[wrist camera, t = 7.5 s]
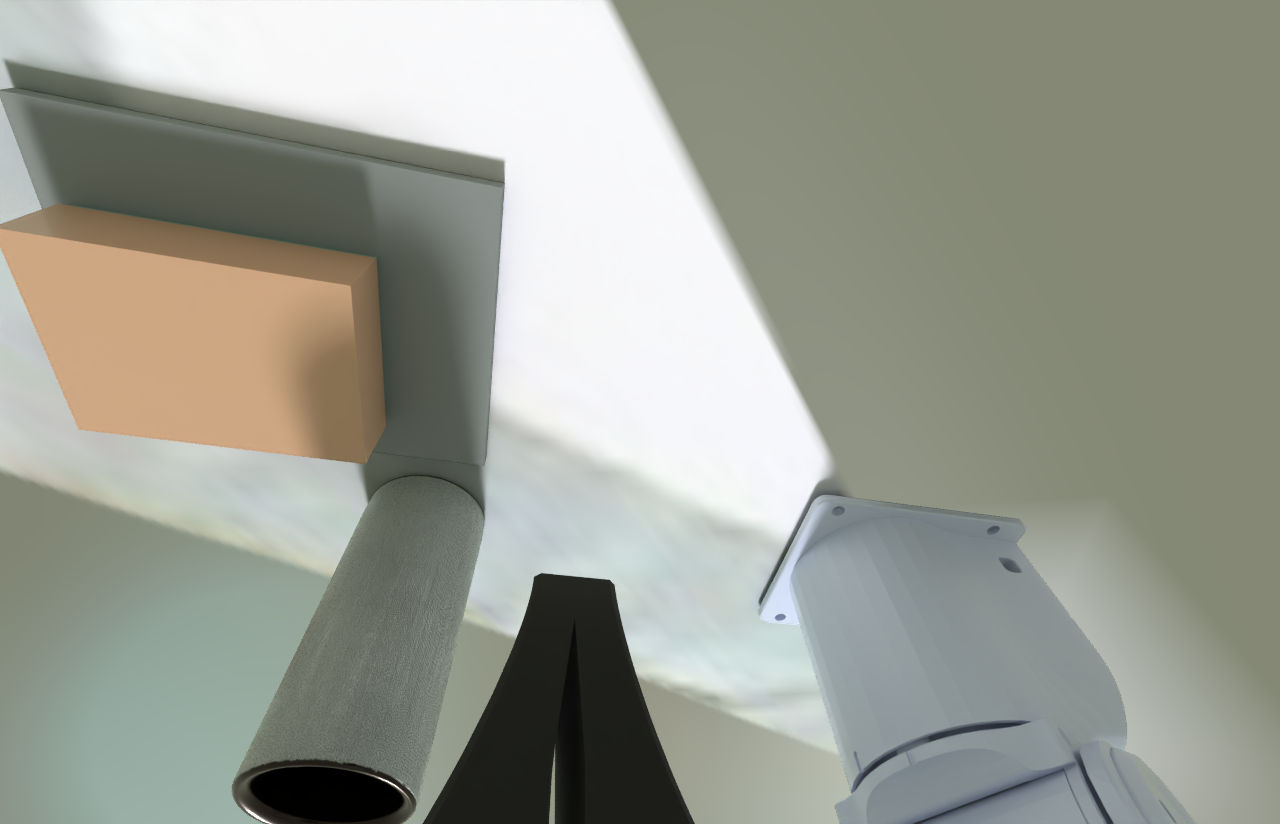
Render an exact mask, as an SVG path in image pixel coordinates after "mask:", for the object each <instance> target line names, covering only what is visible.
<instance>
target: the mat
mask: <svg viewBox="0 0 1280 824" xmlns="http://www.w3.org/2000/svg"><path fill="white" fill-rule="evenodd" d="M0 98H1V101H2V104H3V106H4V109H5V112H6V114H7V117H8V120H9V122H10V125H11V128H12V130H13V133H14V136H15V138H16V141H17V144H18V146H19V149H20V152H21V154H22V157H23V160H24V162H25V165H26V168H27V170H28V173H29V176H30V178H31V181H32V184H33V186H34V189H35V192H36V194H37V197H38V200H39V202H40V205H41V208H42V209H45V208H47V207H50V206H53V205H56V204H64V205H70V206H71V205H76V206H82V207H88V208H93V209H99V210H105V211H111V212H117V213H123V214H128V215H134V216H140V217H146V218H152V219H158V220H164V221H169V222H175V223H181V224H187V225H193V226H199V227H204V228H210V229H216V230H222V231H228V232H234V233H239V234H245V235H251V236H257V237H263V238H269V239H275V240H280V241H286V242H292V243H298V244H304V245H310V246H315V247H321V248H327V249H333V250H339V251H345V252H351V253H356V254H362V255H368V256H374V257H377V272H378V290H379V307H380V325H381V342H382V360H383V377H384V395H385V413H386V427H385V429H384V431H383V433H382V435H381V437H380V439H379V440H378V442H377V444H376V446H375V448H374V450H373V452H377V453H385V454H393V455H401V456H409V457H417V458H425V459H433V460H442V461H450V462H458V463H466V464H474V465H482V466H484V464H485V460H486V454H487V439H488V424H489V409H490V394H491V379H492V364H493V349H494V334H495V319H496V304H497V289H498V274H499V259H500V244H501V229H502V214H503V199H504V184H505V183H501V182H496V181H491V180H485V179H480V178H475V177H470V176H465V175H460V174H455V173H450V172H444V171H439V170H434V169H429V168H424V167H419V166H414V165H409V164H403V163H398V162H393V161H388V160H383V159H378V158H373V157H368V156H362V155H357V154H352V153H347V152H342V151H337V150H332V149H327V148H321V147H316V146H311V145H306V144H301V143H296V142H291V141H286V140H280V139H275V138H270V137H265V136H260V135H255V134H250V133H245V132H239V131H234V130H229V129H224V128H219V127H214V126H209V125H204V124H198V123H193V122H188V121H183V120H178V119H173V118H168V117H163V116H157V115H152V114H147V113H142V112H137V111H132V110H127V109H122V108H116V107H111V106H106V105H101V104H96V103H91V102H86V101H81V100H75V99H70V98H65V97H60V96H55V95H50V94H45V93H40V92H34V91H29V90H24V89H19V88H9V89H2V90H0Z"/></svg>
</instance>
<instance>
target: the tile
mask: <svg viewBox="0 0 1280 824" xmlns="http://www.w3.org/2000/svg"><path fill="white" fill-rule="evenodd" d="M0 248H1V250H2V252H3V255H4V257H5V259H6V262H7V264H8V266H9V269H10V271H11V273H12V275H13V278H14V280H15V282H16V285H17V287H18V289H19V292H20V294H21V296H22V299H23V301H24V303H25V306H26V308H27V310H28V313H29V315H30V317H31V320H32V322H33V324H34V327H35V329H36V331H37V333H38V336H39V338H40V340H41V343H42V345H43V347H44V350H45V352H46V354H47V357H48V359H49V361H50V364H51V366H52V368H53V371H54V373H55V375H56V378H57V380H58V382H59V385H60V387H61V389H62V391H63V394H64V396H65V398H66V401H67V403H68V405H69V408H70V410H71V412H72V415H73V417H74V419H75V422H76V424H77V426H78V429H79V430H88V431H96V432H104V433H113V434H121V435H129V436H137V437H146V438H154V439H162V440H171V441H179V442H187V443H195V444H204V445H212V446H220V447H229V448H237V449H245V450H253V451H262V452H270V453H278V454H287V455H295V456H303V457H311V458H320V459H328V460H336V461H345V462H353V463H361V464H366V463H367V461H368V459H369V457H370V455H371V454H372V452H373V450H374V448H375V446H376V444H377V442H378V440H379V439H380V437H381V435H382V433H383V431H384V429H385V427H386V413H385V395H384V377H383V360H382V342H381V325H380V307H379V290H378V272H377V257H374V256H368V255H362V254H356V253H351V252H345V251H339V250H333V249H327V248H321V247H315V246H310V245H304V244H298V243H292V242H286V241H280V240H275V239H269V238H263V237H257V236H251V235H245V234H239V233H234V232H228V231H222V230H216V229H210V228H204V227H199V226H193V225H187V224H181V223H175V222H169V221H164V220H158V219H152V218H146V217H140V216H134V215H128V214H123V213H117V212H111V211H105V210H99V209H93V208H88V207H82V206H76V205H71V206H70V205H64V204H56V205H53V206H50V207H47V208H45V209H42V210H39V211H36V212H33V213H31V214H28V215H25V216H22V217H19V218H17V219H14V220H11V221H8V222H6V223H3V224H0Z"/></svg>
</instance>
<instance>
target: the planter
mask: <svg viewBox="0 0 1280 824" xmlns="http://www.w3.org/2000/svg"><path fill="white" fill-rule="evenodd" d="M483 529H484V517H483V513H482V510H481V508H480V506H479V505H478V503H477V502H476V501H475V500H474V498H473V497H472V496H471V495H469V494H468V493H467V492H466V491H464V490H463V489H462V488H460V487H458V486H456V485H454V484H452V483H450V482H447V481H445V480H442V479H438V478H433V477H427V476H409V477H403V478H399V479H395V480H393V481H390V482H388V483H386V484H385V485H383V486H382V487H380V488H379V489H378V490H377V491H376V492H375V494H374V495H373V497H372V498H371V500H370V502H369V503H368V505H367V507H366V509H365V511H364V513H363V515H362V517H361V519H360V521H359V523H358V525H357V527H356V529H355V531H354V533H353V536H352V538H351V540H350V542H349V544H348V546H347V548H346V550H345V552H344V554H343V556H342V558H341V560H340V562H339V564H338V566H337V568H336V571H335V573H334V575H333V577H332V579H331V581H330V583H329V585H328V587H327V589H326V591H325V593H324V595H323V597H322V599H321V601H320V604H319V606H318V608H317V610H316V612H315V614H314V616H313V618H312V620H311V622H310V624H309V626H308V628H307V630H306V632H305V634H304V636H303V639H302V641H301V643H300V645H299V647H298V649H297V651H296V653H295V655H294V657H293V659H292V661H291V663H290V665H289V667H288V669H287V671H286V673H285V676H284V678H283V680H282V682H281V684H280V686H279V688H278V690H277V692H276V694H275V696H274V698H273V700H272V702H271V704H270V706H269V709H268V710H267V713H266V715H265V717H264V719H263V721H262V723H261V725H260V727H259V729H258V731H257V733H256V735H255V737H254V739H253V742H252V743H251V746H250V748H249V750H248V752H247V754H246V756H245V758H244V760H243V762H242V764H241V766H240V768H239V770H238V772H237V775H236V777H235V779H234V781H233V784H232V795H233V798H234V800H235V802H236V804H237V805H238V806H239V807H240V808H241V809H242V810H243V811H244V812H245V813H246V814H248V815H249V816H251V817H253V818H254V819H256V820H258V821H260V822H262V823H265V824H403V823H404V822H406V821H407V820H408V819H409V818H410V817H411V816H412V815H413V814H414V812H415V811H416V808H417V805H418V802H419V797H420V794H421V789H422V786H423V781H424V777H425V773H426V768H427V765H428V761H429V757H430V752H431V748H432V744H433V740H434V736H435V732H436V727H437V723H438V719H439V715H440V711H441V707H442V702H443V698H444V694H445V690H446V686H447V681H448V677H449V673H450V669H451V665H452V661H453V656H454V652H455V648H456V644H457V640H458V636H459V632H460V627H461V623H462V619H463V615H464V611H465V607H466V603H467V598H468V594H469V590H470V586H471V582H472V578H473V573H474V569H475V565H476V561H477V557H478V553H479V549H480V544H481V540H482V535H483Z"/></svg>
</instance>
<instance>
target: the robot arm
mask: <svg viewBox="0 0 1280 824" xmlns="http://www.w3.org/2000/svg"><path fill="white" fill-rule="evenodd" d="M836 507H839V508H837V509H834V508H836ZM1025 531H1026V527H1025V526H1024V525H1023V523H1022V522H1021V521H1020V520H1019V519H1015V518H1007V517H1000V516H991V515H983V514H975V513H968V512H960V511H952V510H945V509H937V508H929V507H921V506H913V505H904V504H897V503H890V502H882V501H874V500H865V499H858V498H850V497H843V496H835V495H822V496H819V497H817V498H816V499H815V500H814V501H813V502H812V504H811V506H810V508H809V510H808V512H807V514H806V516H805V518H804V520H803V522H802V524H801V526H800V528H799V530H798V532H797V534H796V536H795V538H794V540H793V542H792V544H791V546H790V548H789V550H788V552H787V554H786V556H785V558H784V560H783V562H782V564H781V566H780V568H779V570H778V572H777V574H776V576H775V578H774V579H773V581H772V583H771V585H770V587H769V589H768V591H767V593H766V595H765V597H764V599H763V601H762V603H761V605H760V607H759V609H758V614H759V618H760V620H762V621H764V622H769V623H780V624H791V625H800V627H801V631H802V634H803V637H804V640H805V644H806V647H807V650H808V654H809V657H810V660H811V663H812V667H813V670H814V673H815V677H816V680H817V683H818V686H819V690H820V693H821V696H822V700H823V703H824V706H825V709H826V713H827V716H828V719H829V723H830V726H831V729H832V732H833V736H834V739H835V742H836V745H837V749H838V752H839V755H840V759H841V762H842V765H843V768H844V772H845V775H846V778H847V782H848V785H849V788H850V791H851V795H850V796H848V797H847V798H845V799H843V800H841V801H839V802H837V803H836V804H835V809H836V813H837V816H838V819H839V823H840V824H1197V823H1196V822H1195V820H1194V819H1193V818H1192V817H1191V815H1190V814H1189V813H1188V812H1187V811H1186V809H1185V808H1184V807H1183V805H1182V804H1181V803H1180V802H1179V801H1178V799H1177V798H1176V797H1175V796H1174V795H1173V793H1172V792H1171V791H1170V790H1169V789H1168V787H1167V786H1166V785H1165V784H1164V783H1163V782H1162V780H1160V778H1159V777H1158V776H1157V775H1156V774H1155V773H1154V772H1153V771H1152V769H1150V768H1149V767H1148V765H1147V764H1145V762H1144V761H1142V760H1141V759H1140V758H1139V757H1137V756H1135V755H1133V754H1131V753H1128V752H1126V751H1124V749H1125V745H1126V740H1127V723H1126V715H1125V711H1124V706H1123V702H1122V698H1121V695H1120V692H1119V690H1118V687H1117V684H1116V682H1115V679H1114V678H1113V675H1112V674H1111V672H1110V670H1109V668H1108V666H1107V665H1106V663H1105V662H1104V660H1103V659H1102V657H1101V656H1100V654H1099V653H1098V652H1097V650H1096V649H1095V648H1094V646H1093V645H1092V644H1091V642H1090V641H1089V640H1088V638H1087V637H1086V636H1085V634H1084V633H1083V632H1082V630H1081V629H1080V628H1079V626H1078V625H1077V624H1076V622H1075V621H1074V620H1073V618H1072V617H1071V616H1070V615H1069V613H1068V612H1067V611H1066V609H1065V608H1064V606H1063V605H1062V604H1061V603H1060V601H1059V600H1058V598H1057V597H1056V596H1055V594H1054V593H1053V592H1052V590H1051V589H1050V588H1049V586H1048V585H1047V584H1046V583H1045V581H1044V580H1043V579H1042V577H1041V576H1040V575H1039V573H1038V572H1037V571H1036V569H1035V568H1034V567H1033V565H1032V564H1031V563H1030V561H1029V560H1028V559H1027V557H1026V556H1025V555H1024V553H1023V552H1022V551H1021V549H1020V548H1019V547H1018V545H1017V544H1016V543H1017V542H1018V540H1019V539H1020V538H1021V537H1022V536H1023V534H1024V533H1025ZM554 749H555V824H695V823H694V821H693V819H692V817H691V815H690V813H689V810H688V808H687V806H686V804H685V802H684V800H683V797H682V795H681V793H680V790H679V788H678V786H677V783H676V781H675V779H674V776H673V774H672V771H671V769H670V767H669V764H668V761H667V759H666V756H665V754H664V751H663V749H662V746H661V744H660V741H659V739H658V736H657V733H656V731H655V728H654V725H653V723H652V720H651V718H650V714H649V712H648V709H647V706H646V703H645V700H644V697H643V694H642V691H641V688H640V685H639V682H638V679H637V676H636V673H635V669H634V666H633V663H632V660H631V656H630V653H629V649H628V645H627V642H626V638H625V634H624V630H623V626H622V622H621V618H620V613H619V609H618V604H617V599H616V593H615V586H614V584H613V583H612V582H611V581H610V580H604V579H594V578H584V577H574V576H564V575H554V574H544V573H541V574H539V575H537V576H535V577H534V582H533V587H532V592H531V596H530V600H529V603H528V607H527V610H526V613H525V616H524V619H523V622H522V625H521V628H520V630H519V633H518V636H517V638H516V641H515V644H514V646H513V649H512V651H511V654H510V656H509V658H508V660H507V663H506V665H505V667H504V669H503V672H502V674H501V676H500V678H499V681H498V683H497V685H496V688H495V690H494V692H493V694H492V696H491V698H490V700H489V702H488V704H487V706H486V708H485V710H484V712H483V714H482V716H481V718H480V720H479V722H478V724H477V726H476V728H475V730H474V732H473V734H472V736H471V738H470V740H469V742H468V744H467V746H466V748H465V750H464V752H463V754H462V756H461V757H460V759H459V761H458V763H457V765H456V766H455V768H454V770H453V772H452V774H451V776H450V777H449V779H448V781H447V783H446V784H445V786H444V788H443V790H442V791H441V793H440V795H439V797H438V798H437V800H436V802H435V804H434V805H433V807H432V809H431V811H430V812H429V814H428V816H427V817H426V819H425V821H424V823H423V824H549V811H550V794H551V778H552V766H553V758H554Z"/></svg>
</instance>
